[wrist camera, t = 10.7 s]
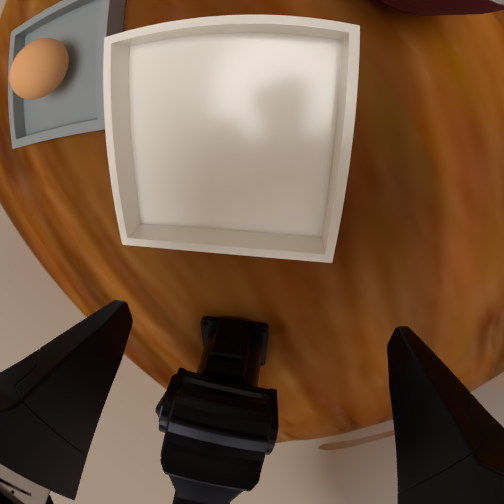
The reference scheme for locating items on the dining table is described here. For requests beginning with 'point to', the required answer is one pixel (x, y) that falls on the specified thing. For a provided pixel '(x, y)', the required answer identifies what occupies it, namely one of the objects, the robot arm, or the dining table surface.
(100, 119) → the tray
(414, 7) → the mug
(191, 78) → the dish
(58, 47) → the ball
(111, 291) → the dining table surface
